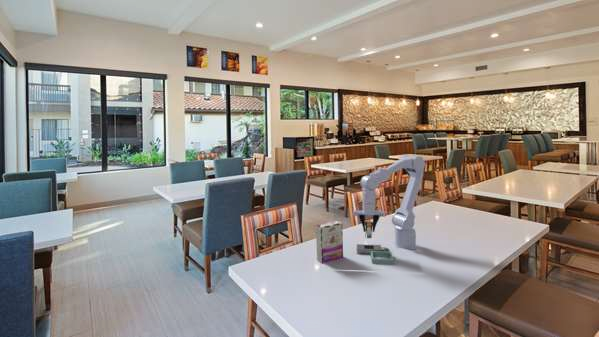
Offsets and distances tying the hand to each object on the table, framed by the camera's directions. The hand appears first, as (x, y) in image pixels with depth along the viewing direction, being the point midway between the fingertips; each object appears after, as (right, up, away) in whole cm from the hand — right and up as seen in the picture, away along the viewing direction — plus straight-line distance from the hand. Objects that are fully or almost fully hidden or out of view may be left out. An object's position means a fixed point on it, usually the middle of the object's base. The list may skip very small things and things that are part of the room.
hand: (368, 231), depth 148 cm
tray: (+4, -11, -8) cm, 14 cm away
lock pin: (0, -3, 0) cm, 3 cm away
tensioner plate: (+2, -10, +1) cm, 10 cm away
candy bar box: (-19, -12, -5) cm, 23 cm away
